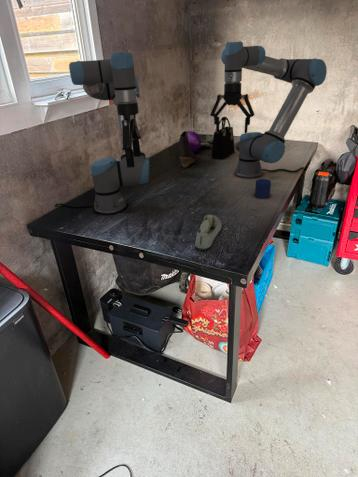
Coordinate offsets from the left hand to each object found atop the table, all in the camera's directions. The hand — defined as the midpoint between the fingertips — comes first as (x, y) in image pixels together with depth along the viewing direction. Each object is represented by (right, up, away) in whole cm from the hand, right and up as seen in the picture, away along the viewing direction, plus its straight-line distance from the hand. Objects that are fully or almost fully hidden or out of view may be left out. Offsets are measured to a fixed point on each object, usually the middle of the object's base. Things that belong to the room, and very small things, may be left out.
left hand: (134, 161), depth 126 cm
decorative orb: (+25, +31, +107) cm, 114 cm away
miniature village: (+74, +38, +113) cm, 140 cm away
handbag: (+48, +27, +99) cm, 113 cm away
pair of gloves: (+40, +43, +126) cm, 139 cm away
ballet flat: (+29, -29, +4) cm, 41 cm away
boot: (+23, +20, +88) cm, 93 cm away
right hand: (+42, +21, +29) cm, 55 cm away
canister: (+58, -8, +35) cm, 69 cm away
